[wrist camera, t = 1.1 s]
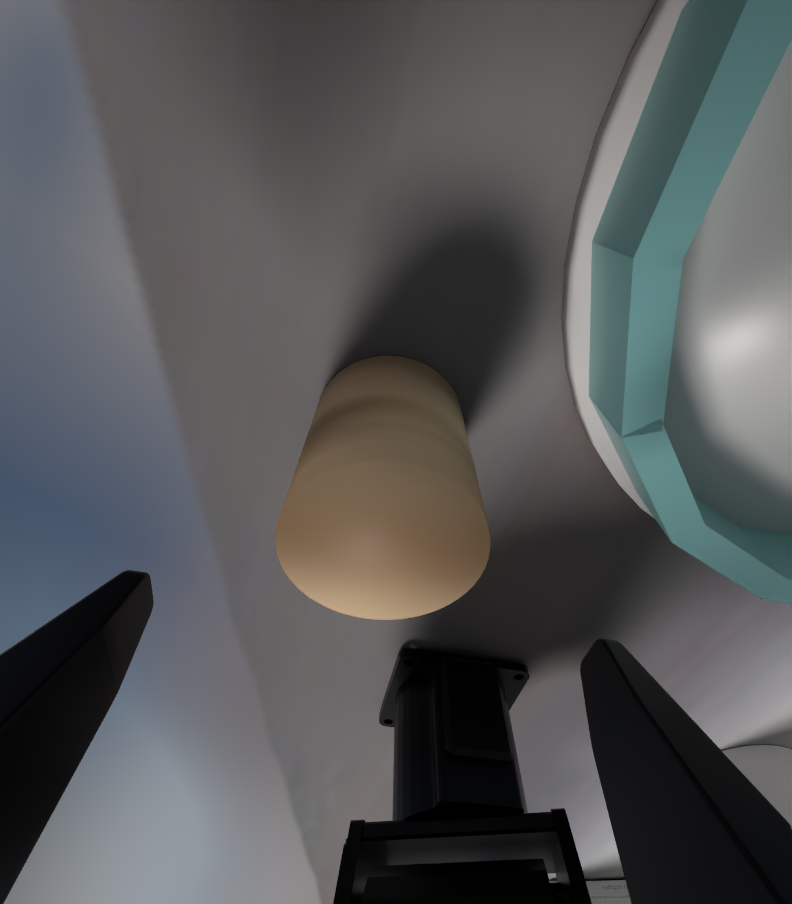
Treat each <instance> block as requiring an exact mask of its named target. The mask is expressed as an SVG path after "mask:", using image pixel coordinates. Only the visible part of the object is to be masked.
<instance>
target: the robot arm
mask: <svg viewBox="0 0 792 904" xmlns="http://www.w3.org/2000/svg"><path fill="white" fill-rule="evenodd" d="M152 608H153V594H152V586H151V579H150V576H149V574H148V573H146V572H140V571H132V570H127V571H124V572H122V573H120V574H119V575H117V576H116V577H114V578H113V579H111V580H110V581H108V582H107V583H105V584H104V585H102V586H101V587H99V588H98V589H97V590H95V591H94V592H92V593H91V594H89V595H88V596H86V597H85V598H84V599H82V600H81V601H79V602H77V603H76V604H75V605H73V606H71V607H70V608H68V609H67V610H66V611H64V612H62V613H61V614H60V615H58V616H57V617H55V618H54V619H52V620H51V621H49V622H48V623H46V624H45V625H43V626H42V627H41V628H39V629H38V630H36V631H35V632H33V633H32V634H30V635H29V636H27V637H26V638H24V639H23V640H21V641H20V642H18V643H17V644H15V645H14V646H12V647H11V648H9V649H8V650H6V651H5V652H3V653H2V654H0V904H3V903H4V901H5V900H6V898H7V896H8V894H9V892H10V890H11V888H12V887H13V885H14V883H15V881H16V879H17V878H18V875H19V874H20V872H21V870H22V868H23V867H24V865H25V863H26V861H27V859H28V857H29V855H30V853H31V852H32V850H33V848H34V846H35V844H36V843H37V841H38V839H39V837H40V835H41V833H42V832H43V830H44V828H45V826H46V824H47V822H48V821H49V819H50V817H51V815H52V813H53V811H54V809H55V808H56V806H57V804H58V802H59V800H60V798H61V797H62V795H63V793H64V791H65V789H66V787H67V785H68V784H69V782H70V780H71V778H72V776H73V774H74V773H75V771H76V769H77V767H78V765H79V763H80V762H81V760H82V758H83V756H84V754H85V752H86V751H87V749H88V747H89V745H90V743H91V741H92V740H93V738H94V735H95V734H96V732H97V730H98V728H99V726H100V725H101V723H102V721H103V719H104V717H105V716H106V714H107V712H108V710H109V708H110V706H111V704H112V702H113V701H114V699H115V697H116V695H117V693H118V690H119V688H120V686H121V684H122V681H123V679H124V677H125V674H126V672H127V670H128V667H129V665H130V662H131V660H132V658H133V655H134V653H135V650H136V648H137V646H138V643H139V641H140V639H141V636H142V634H143V631H144V629H145V627H146V624H147V622H148V619H149V617H150V615H151V612H152ZM580 672H581V679H582V686H583V692H584V699H585V705H586V712H587V718H588V725H589V731H590V738H591V743H592V748H593V753H594V757H595V762H596V766H597V770H598V774H599V778H600V782H601V786H602V790H603V794H604V798H605V801H606V805H607V809H608V813H609V817H610V821H611V825H612V829H613V833H614V837H615V841H616V845H617V849H618V853H619V857H620V861H621V865H622V869H623V872H624V876H625V880H626V884H627V888H628V892H629V896H630V900H631V904H792V829H791V825H790V824H789V822H788V821H787V820H786V819H785V818H784V817H783V816H782V815H781V814H780V813H779V812H778V811H777V810H776V809H775V807H774V806H773V805H772V804H771V803H770V802H769V801H768V800H767V799H766V798H765V797H764V796H763V795H762V794H761V792H760V791H759V790H758V789H757V788H756V787H755V786H754V785H753V784H752V783H751V782H750V781H749V780H748V779H747V778H746V776H745V775H744V774H743V773H742V772H741V771H740V770H739V769H738V768H737V767H736V766H735V765H734V764H733V763H732V761H731V760H730V759H729V758H728V757H727V756H726V755H725V754H724V753H723V752H722V751H721V750H720V749H719V748H718V747H717V745H716V744H715V743H714V742H713V741H712V740H711V739H710V738H709V737H708V736H707V735H706V734H705V733H704V732H703V730H702V729H701V728H700V727H699V726H698V725H697V724H696V723H695V722H694V721H693V720H692V719H691V718H690V717H689V716H688V714H687V713H686V712H685V711H684V710H683V709H682V708H681V707H680V706H679V705H678V704H677V703H676V702H675V701H674V699H673V698H672V697H671V696H670V695H669V694H668V693H667V692H666V691H665V690H664V689H663V688H662V687H661V686H660V684H659V683H658V682H657V681H656V680H655V679H654V678H653V677H652V676H651V675H650V674H649V673H648V672H647V671H646V670H645V668H644V667H643V666H642V665H641V664H640V663H639V662H638V661H637V660H636V659H635V658H634V657H633V656H632V655H631V653H630V652H629V651H628V650H627V649H626V648H625V647H624V646H623V645H622V644H621V643H619V642H618V641H614V640H608V639H598V640H596V641H595V642H594V644H593V645H592V647H591V648H590V650H589V651H588V653H587V654H586V656H585V657H584V659H583V660H582V663H581V668H580ZM528 679H529V673H528V669H527V667H526V666H525V665H524V664H520V663H512V662H505V661H498V660H490V659H483V658H476V657H468V656H461V655H454V654H446V653H439V652H431V651H424V650H417V649H404V650H402V651H400V653H399V655H398V658H397V661H396V664H395V667H394V670H393V673H392V676H391V679H390V683H389V686H388V689H387V692H386V695H385V698H384V701H383V704H382V707H381V710H380V715H379V723H380V724H381V725H383V726H388V727H395V729H394V777H393V821H382V822H365V820H351V823H350V828H349V833H348V838H347V839H346V843H345V844H344V848H343V853H342V859H341V864H340V870H339V875H338V881H337V886H336V892H335V897H334V903H333V904H592V902H591V899H590V895H589V892H588V888H587V885H586V881H585V878H584V874H583V871H582V867H581V864H580V860H579V857H578V853H577V850H576V846H575V843H574V839H573V836H572V832H571V829H570V825H569V822H568V818H567V815H566V811H565V809H564V808H562V809H551V812H542V813H528V811H527V806H526V801H525V795H524V790H523V785H522V779H521V774H520V769H519V763H518V758H517V753H516V747H515V742H514V737H513V731H512V726H511V721H510V715H509V710H510V708H511V707H512V705H513V703H514V702H515V700H516V698H517V697H518V695H519V693H520V692H521V690H522V689H523V687H524V685H525V684H526V682H527V680H528ZM547 873H556V877H557V882H558V883H550V882H549V878H548V874H547Z"/></svg>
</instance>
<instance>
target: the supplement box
mask: <svg viewBox="0 0 792 904" xmlns="http://www.w3.org/2000/svg"><path fill="white" fill-rule="evenodd" d="M549 882H550V883H558V882H557V881H549ZM586 885H587V888H588V892H589V895H590V899H591V902H592V904H631V900H630V896H629V892H628V888H627V884H626V880H612V881H586Z"/></svg>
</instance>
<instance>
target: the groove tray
mask: <svg viewBox="0 0 792 904" xmlns="http://www.w3.org/2000/svg"><path fill="white" fill-rule="evenodd" d="M561 320H562V332H563V344H564V357H565V366H566V370H567V375H568V379H569V383H570V387H571V392H572V396H573V400H574V404H575V407H576V409H577V412H578V414H579V416H580V419H581V421H582V424H583V426H584V428H585V431H586V433H587V435H588V438H589V440H590V441H591V443H592V444H593V446H594V447H595V449H596V451H597V452H598V454H599V455H600V457H601V458H602V460H603V462H604V463H605V465H606V466H607V468H608V469H609V471H610V472H611V474H612V475H613V477H614V478H615V480H616V481H617V483H618V484H619V485H620V486H621V487H622V488H623V490H624V491H625V492H626V493H627V494H628V495H629V496H630V497H631V498H632V499H633V500H634V501H635V503H636V504H637V505H638V506H639V507H640V508H641V509H642V510H644V511H645V512H646V513H648V514H649V515H650V516H652V517H653V518H654V519H656V521H657V522H658V524H659V525H660V527H661V528H662V529H663V531H664V532H665V534H666V535H667V537H668V538H669V539H670V541H671V542H672V543H673V544H675V545H676V546H678V547H679V548H681V549H683V550H684V551H686V552H687V553H689V554H691V555H692V556H694V557H695V558H697V559H699V560H700V561H702V562H703V563H705V564H706V565H708V566H710V567H711V568H713V569H714V570H716V571H718V572H719V573H721V574H722V575H724V576H726V577H727V578H729V579H730V580H732V581H733V582H735V583H737V584H738V585H740V586H741V587H743V588H745V589H746V590H748V591H749V592H751V593H753V594H754V595H756V596H757V597H759V598H760V599H765V600H771V601H777V602H784V603H790V604H792V0H658V1H657V3H656V5H655V7H654V9H653V11H652V12H651V14H650V16H649V18H648V20H647V22H646V24H645V26H644V28H643V30H642V32H641V34H640V35H639V37H638V39H637V41H636V43H635V45H634V47H633V49H632V51H631V53H630V55H629V57H628V58H627V61H626V63H625V66H624V68H623V71H622V73H621V75H620V78H619V80H618V83H617V85H616V88H615V90H614V93H613V95H612V97H611V100H610V102H609V105H608V107H607V110H606V112H605V115H604V117H603V119H602V122H601V124H600V127H599V129H598V132H597V134H596V137H595V140H594V143H593V147H592V150H591V154H590V157H589V160H588V164H587V167H586V170H585V174H584V177H583V181H582V184H581V187H580V191H579V194H578V197H577V201H576V204H575V209H574V215H573V220H572V226H571V231H570V237H569V243H568V248H567V254H566V259H565V265H564V281H563V299H562V317H561Z"/></svg>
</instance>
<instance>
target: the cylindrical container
mask: <svg viewBox="0 0 792 904" xmlns="http://www.w3.org/2000/svg"><path fill="white" fill-rule="evenodd" d="M722 752H723V753H724V754H725V755H726V756H727V757H728V758H729V759H730V760H731V761H732V763H733V764H734V765H735V766H736V767H737V768H738V769H739V770H740V771H741V772H742V773H743V774H744V775H745V776H746V778H747V779H748V780H749V781H750V782H751V783H752V784H753V785H754V786H755V787H756V788H757V789H758V790H759V791H760V792H761V794H762V795H763V796H764V797H765V798H766V799H767V800H768V801H769V802H770V803H771V804H772V805H773V806H774V807H775V809H776V810H777V811H778V812H779V813H780V814H781V815H782V816H783V817H784V818H785V819H786V820H787V821H788V822H789V824H790V825H791V829H792V749H789V748H786V747H780V746H773V745H751V746H743V747H736V748H732V749H727V750H723V751H722Z"/></svg>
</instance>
